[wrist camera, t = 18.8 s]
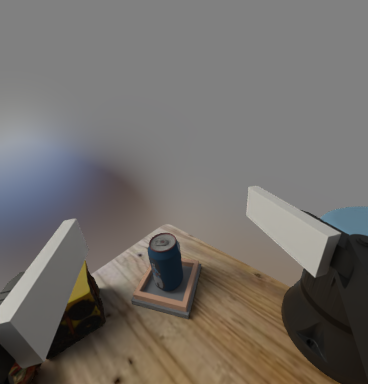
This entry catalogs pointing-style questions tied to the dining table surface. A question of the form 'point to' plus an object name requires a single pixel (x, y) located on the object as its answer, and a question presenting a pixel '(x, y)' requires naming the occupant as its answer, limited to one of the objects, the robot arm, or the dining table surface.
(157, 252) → the soda can
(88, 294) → the yellow black cube
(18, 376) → the red brown scaly oval
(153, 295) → the coaster
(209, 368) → the dining table surface
